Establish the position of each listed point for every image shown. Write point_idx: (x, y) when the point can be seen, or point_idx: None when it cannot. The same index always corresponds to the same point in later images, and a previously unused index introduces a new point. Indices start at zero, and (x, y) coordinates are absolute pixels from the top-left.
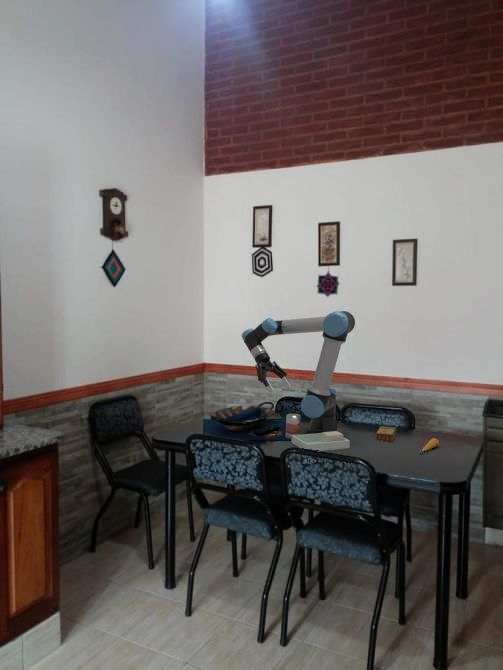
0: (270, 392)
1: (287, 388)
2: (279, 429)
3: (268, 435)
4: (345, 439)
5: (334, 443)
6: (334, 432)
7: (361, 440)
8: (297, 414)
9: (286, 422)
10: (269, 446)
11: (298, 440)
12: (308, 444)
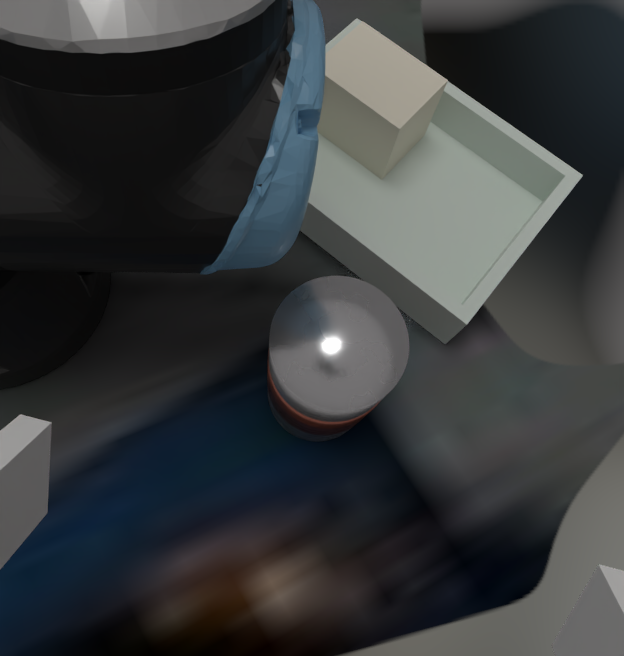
0: (569, 639)
1: (39, 497)
2: (96, 614)
3: (324, 601)
4: None
5: None
6: (353, 68)
7: None
8: (285, 321)
9: (374, 406)
10: (561, 451)
11: (520, 254)
12: (573, 170)
